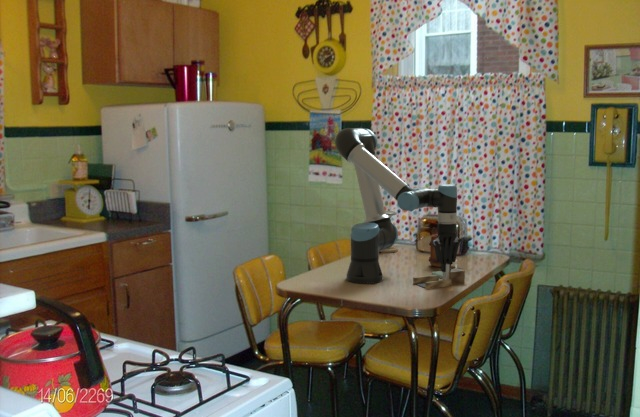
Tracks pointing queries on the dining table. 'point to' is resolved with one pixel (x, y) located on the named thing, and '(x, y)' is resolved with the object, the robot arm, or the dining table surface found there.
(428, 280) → the channel
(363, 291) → the dining table surface
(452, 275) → the block
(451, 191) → the robot arm
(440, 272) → the plate
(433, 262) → the mug
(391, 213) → the candle holder
